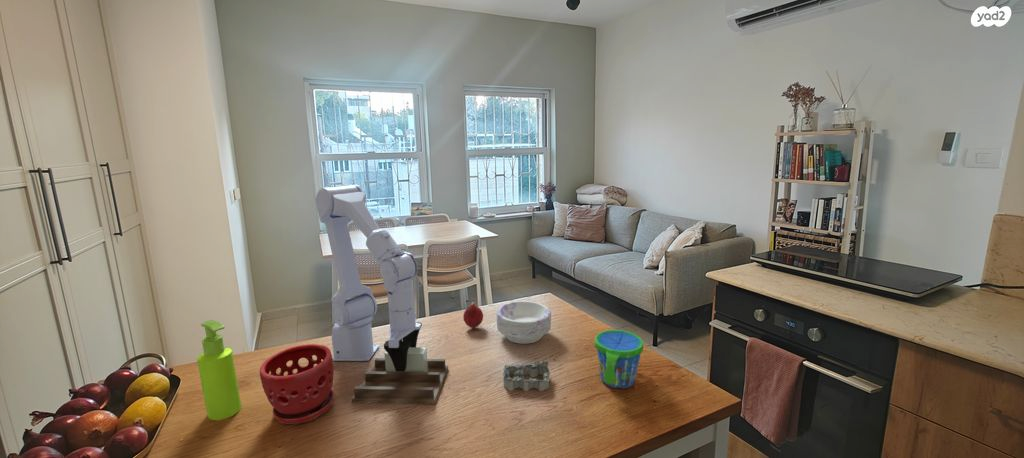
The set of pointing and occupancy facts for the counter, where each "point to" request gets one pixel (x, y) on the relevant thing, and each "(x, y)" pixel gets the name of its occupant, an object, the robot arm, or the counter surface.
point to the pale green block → (410, 361)
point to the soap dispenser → (218, 374)
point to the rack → (401, 384)
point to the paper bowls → (523, 321)
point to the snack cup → (618, 357)
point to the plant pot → (299, 383)
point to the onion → (473, 316)
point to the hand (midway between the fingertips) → (405, 361)
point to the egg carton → (525, 369)
